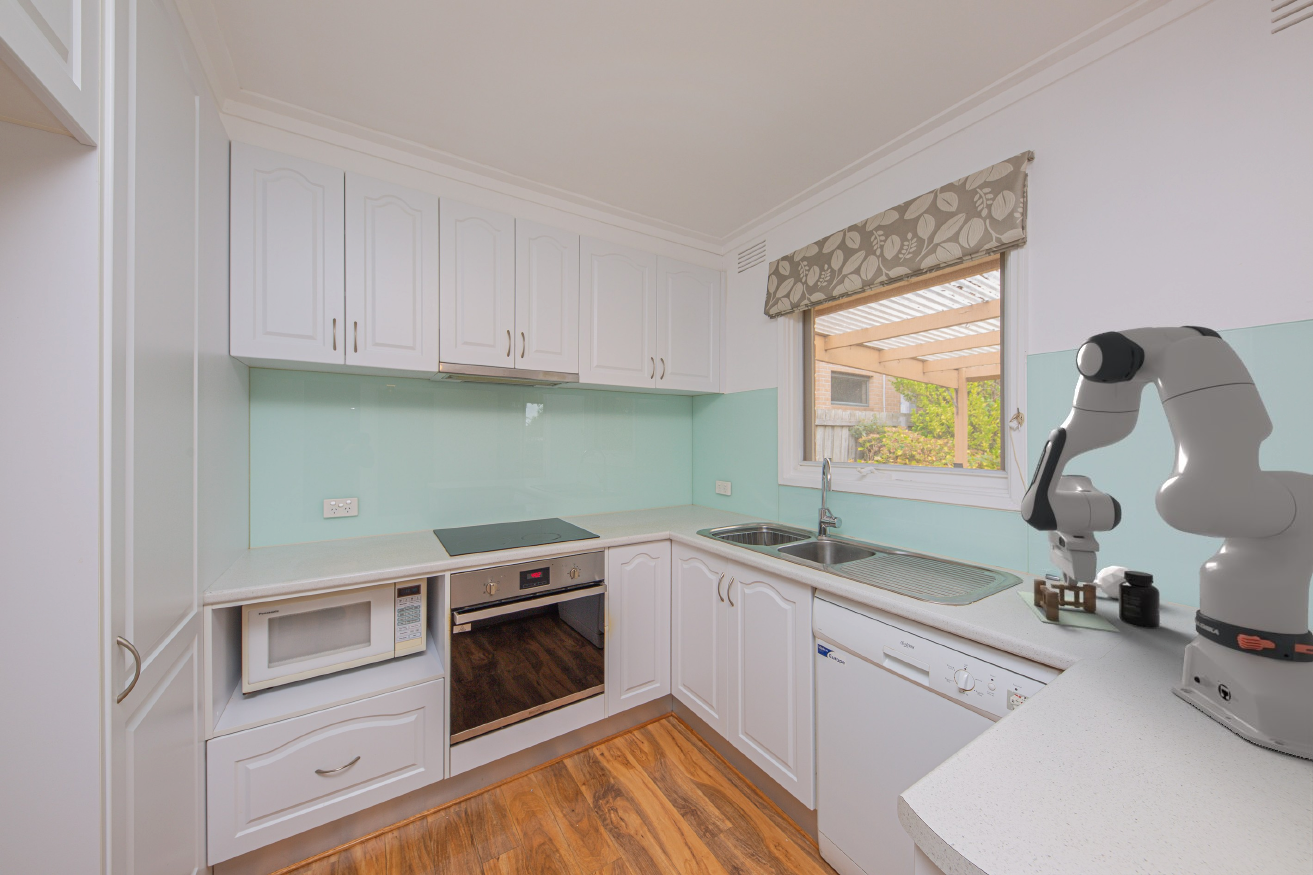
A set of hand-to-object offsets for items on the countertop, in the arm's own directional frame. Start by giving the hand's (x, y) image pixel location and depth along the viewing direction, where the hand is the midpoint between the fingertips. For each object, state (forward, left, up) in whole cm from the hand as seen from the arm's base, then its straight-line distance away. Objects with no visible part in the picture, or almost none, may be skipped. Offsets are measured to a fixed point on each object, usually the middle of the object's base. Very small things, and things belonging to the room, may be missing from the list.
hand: (1070, 589), depth 120 cm
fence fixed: (-7, +7, -5) cm, 11 cm away
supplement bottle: (-5, -11, -5) cm, 13 cm away
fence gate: (-2, 0, -4) cm, 5 cm away
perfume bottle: (+16, -13, -5) cm, 21 cm away
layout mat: (-2, +2, -5) cm, 6 cm away
